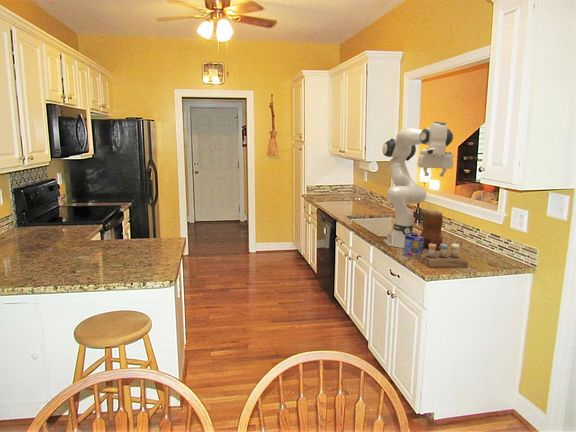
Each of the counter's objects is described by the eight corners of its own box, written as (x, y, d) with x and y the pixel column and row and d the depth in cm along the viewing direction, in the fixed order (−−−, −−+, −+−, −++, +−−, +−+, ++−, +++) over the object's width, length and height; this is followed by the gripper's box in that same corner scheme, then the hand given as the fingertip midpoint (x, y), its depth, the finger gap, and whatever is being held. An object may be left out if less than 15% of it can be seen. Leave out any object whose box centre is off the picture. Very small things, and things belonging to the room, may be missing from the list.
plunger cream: (448, 255, 244) (450, 243, 242) (455, 255, 244) (456, 243, 243) (452, 257, 240) (454, 245, 239) (459, 257, 241) (460, 245, 239)
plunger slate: (437, 255, 242) (438, 243, 241) (444, 255, 243) (445, 243, 242) (441, 257, 238) (442, 245, 237) (448, 257, 239) (449, 245, 238)
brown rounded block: (438, 246, 285) (442, 209, 281) (443, 251, 272) (448, 212, 267) (417, 245, 286) (420, 207, 282) (421, 249, 273) (425, 210, 269)
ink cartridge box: (402, 255, 257) (405, 231, 254) (406, 253, 261) (409, 230, 259) (418, 258, 251) (421, 234, 248) (422, 257, 255) (425, 233, 253)
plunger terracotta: (426, 255, 241) (427, 243, 240) (432, 255, 242) (434, 243, 240) (429, 257, 237) (431, 245, 236) (436, 257, 238) (437, 245, 237)
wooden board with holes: (417, 260, 246) (418, 253, 245) (452, 260, 250) (453, 253, 250) (430, 267, 232) (431, 260, 232) (467, 267, 237) (467, 260, 236)
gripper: (450, 152, 246) (447, 176, 249) (417, 150, 242) (415, 175, 244) (456, 152, 240) (453, 177, 242) (423, 150, 236) (420, 176, 238)
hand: (434, 176), depth 243 cm, fingers open, 8 cm apart
